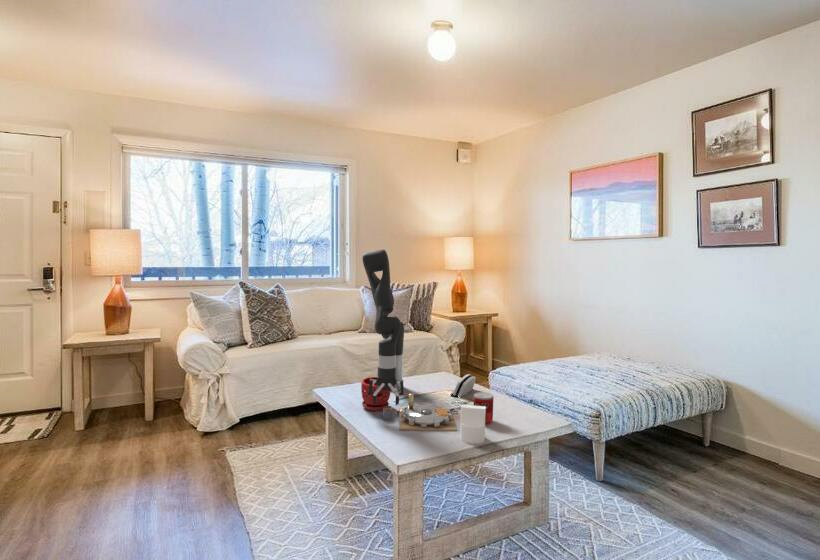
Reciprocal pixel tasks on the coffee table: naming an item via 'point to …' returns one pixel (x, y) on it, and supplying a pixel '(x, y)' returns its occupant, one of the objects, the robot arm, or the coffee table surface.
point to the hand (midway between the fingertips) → (386, 404)
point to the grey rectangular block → (387, 413)
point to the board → (442, 427)
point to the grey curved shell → (464, 385)
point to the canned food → (485, 404)
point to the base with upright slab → (472, 424)
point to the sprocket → (425, 414)
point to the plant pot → (368, 398)
